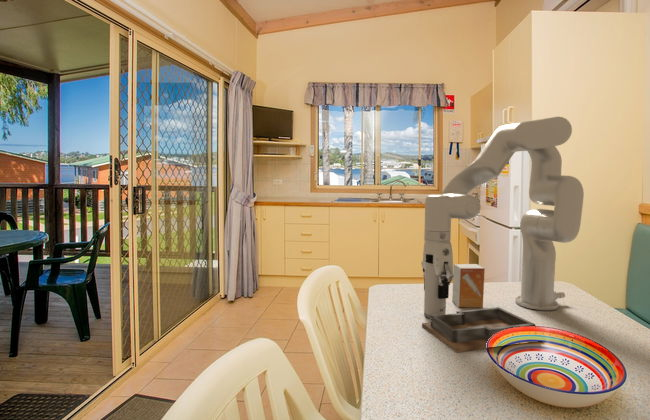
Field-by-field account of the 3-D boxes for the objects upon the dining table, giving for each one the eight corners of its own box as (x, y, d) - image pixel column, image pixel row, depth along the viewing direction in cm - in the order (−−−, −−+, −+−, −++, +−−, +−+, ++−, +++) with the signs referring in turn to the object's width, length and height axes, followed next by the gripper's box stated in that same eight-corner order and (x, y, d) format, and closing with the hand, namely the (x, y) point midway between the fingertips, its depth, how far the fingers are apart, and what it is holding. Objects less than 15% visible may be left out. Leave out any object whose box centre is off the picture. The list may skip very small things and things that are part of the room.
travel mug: (447, 320, 116) (449, 253, 115) (424, 318, 118) (426, 252, 116) (445, 313, 123) (447, 249, 121) (423, 311, 124) (425, 248, 122)
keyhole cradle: (497, 318, 118) (498, 305, 118) (542, 341, 102) (543, 326, 102) (422, 326, 112) (422, 312, 112) (456, 352, 96) (457, 336, 95)
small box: (459, 307, 128) (460, 268, 127) (451, 301, 134) (453, 263, 133) (483, 307, 128) (485, 267, 127) (475, 301, 134) (476, 263, 133)
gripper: (465, 240, 111) (463, 302, 112) (433, 231, 127) (432, 285, 129) (442, 241, 109) (440, 304, 110) (412, 232, 125) (411, 287, 127)
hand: (435, 293), depth 120 cm, fingers open, 7 cm apart
